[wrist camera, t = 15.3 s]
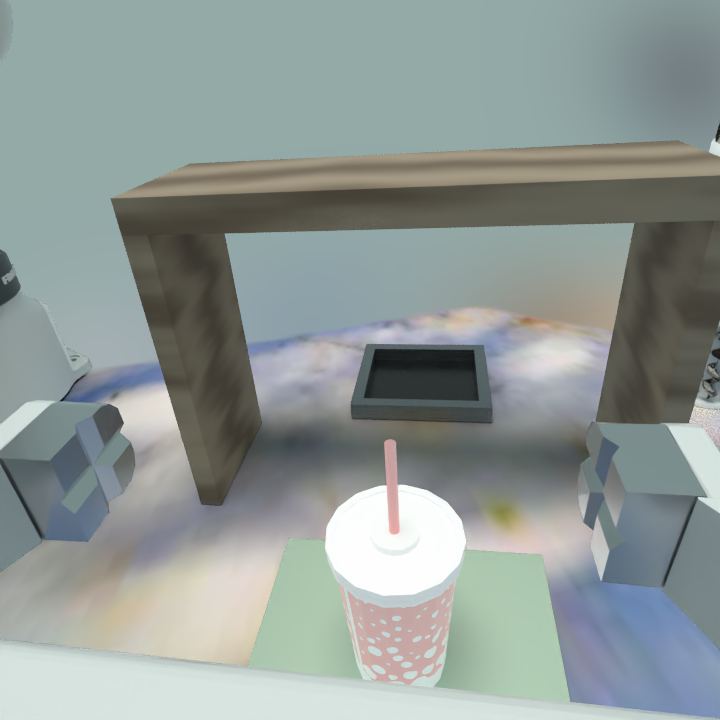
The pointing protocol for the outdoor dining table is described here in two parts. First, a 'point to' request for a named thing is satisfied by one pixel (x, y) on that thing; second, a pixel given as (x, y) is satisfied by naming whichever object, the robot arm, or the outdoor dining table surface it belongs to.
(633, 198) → the walnut tunnel
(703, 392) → the decorative candle
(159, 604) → the outdoor dining table surface
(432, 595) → the beverage cup
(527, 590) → the sage pad
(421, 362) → the tray
